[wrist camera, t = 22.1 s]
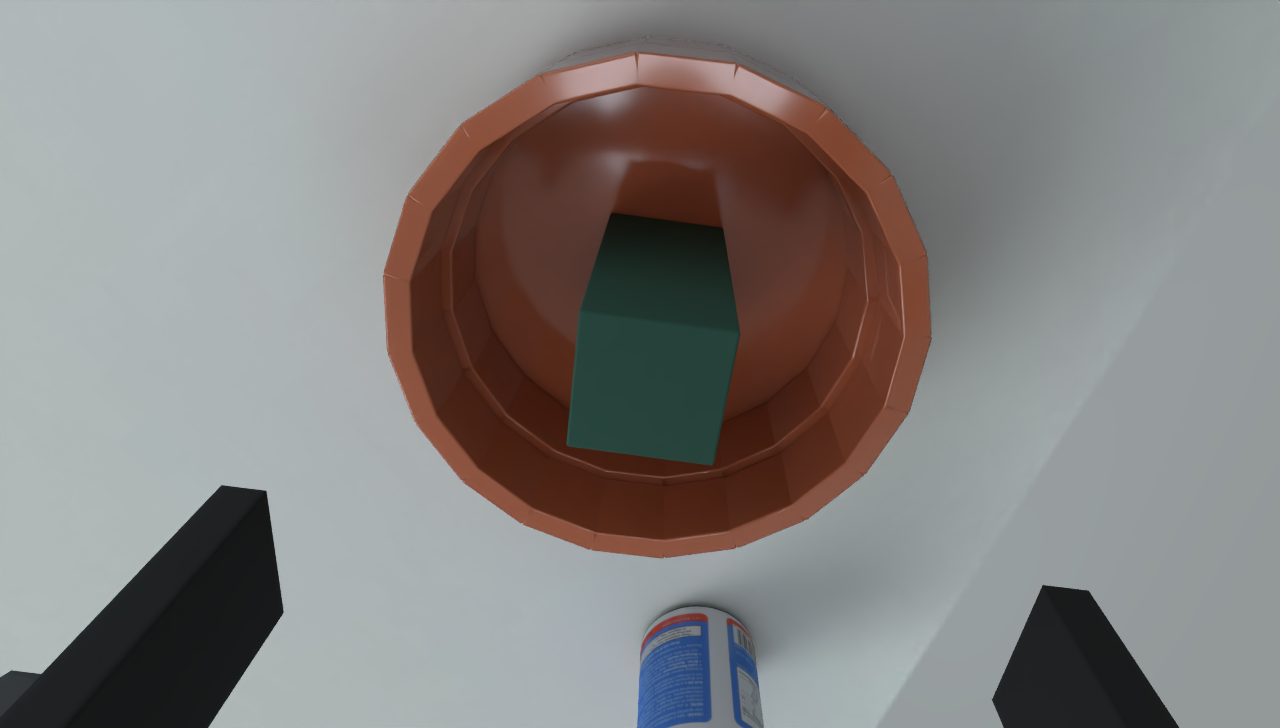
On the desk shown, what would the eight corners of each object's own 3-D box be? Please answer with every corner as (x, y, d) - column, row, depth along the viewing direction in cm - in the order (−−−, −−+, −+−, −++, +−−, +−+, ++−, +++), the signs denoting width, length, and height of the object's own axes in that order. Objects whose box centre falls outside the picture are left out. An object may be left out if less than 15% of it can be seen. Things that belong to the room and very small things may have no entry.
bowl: (925, 66, 25) (1007, 93, 18) (824, 463, 32) (858, 581, 25) (448, 11, 25) (368, 20, 18) (452, 421, 32) (395, 528, 25)
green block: (723, 227, 27) (741, 332, 19) (705, 330, 28) (713, 467, 20) (610, 211, 27) (578, 309, 19) (599, 316, 28) (565, 447, 20)
